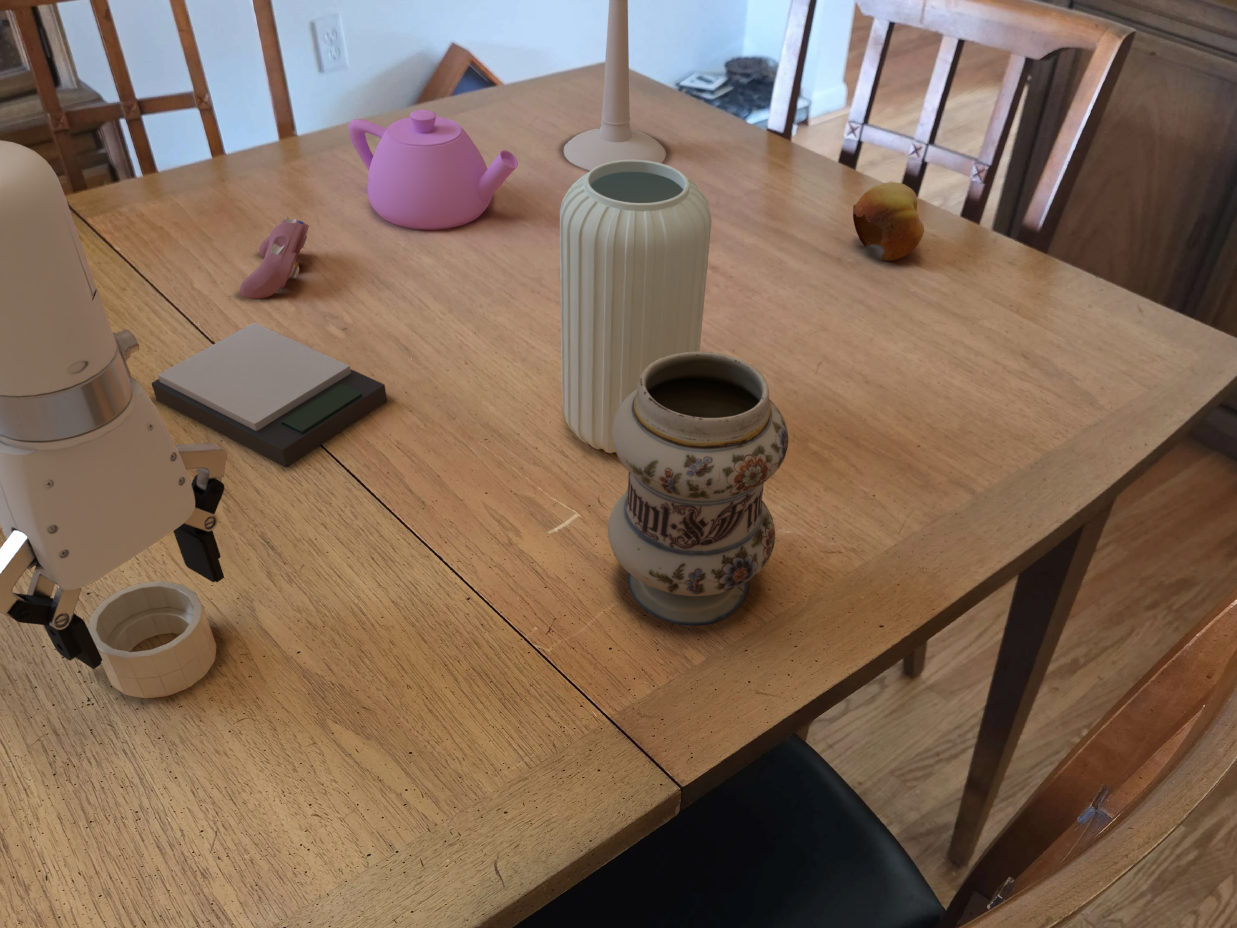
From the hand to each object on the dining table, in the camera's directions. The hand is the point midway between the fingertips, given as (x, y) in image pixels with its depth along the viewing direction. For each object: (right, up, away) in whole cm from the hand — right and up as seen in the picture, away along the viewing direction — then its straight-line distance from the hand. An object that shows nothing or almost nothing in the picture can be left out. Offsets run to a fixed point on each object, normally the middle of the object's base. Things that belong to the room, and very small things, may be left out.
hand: (147, 613), depth 72 cm
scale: (0, +19, +25) cm, 32 cm away
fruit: (+59, +40, +50) cm, 87 cm away
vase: (+31, +17, +25) cm, 43 cm away
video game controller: (-4, +35, +41) cm, 54 cm away
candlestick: (+29, +58, +65) cm, 92 cm away
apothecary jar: (+36, +2, +11) cm, 38 cm away
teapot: (+9, +47, +53) cm, 72 cm away
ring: (-1, -4, +4) cm, 5 cm away
